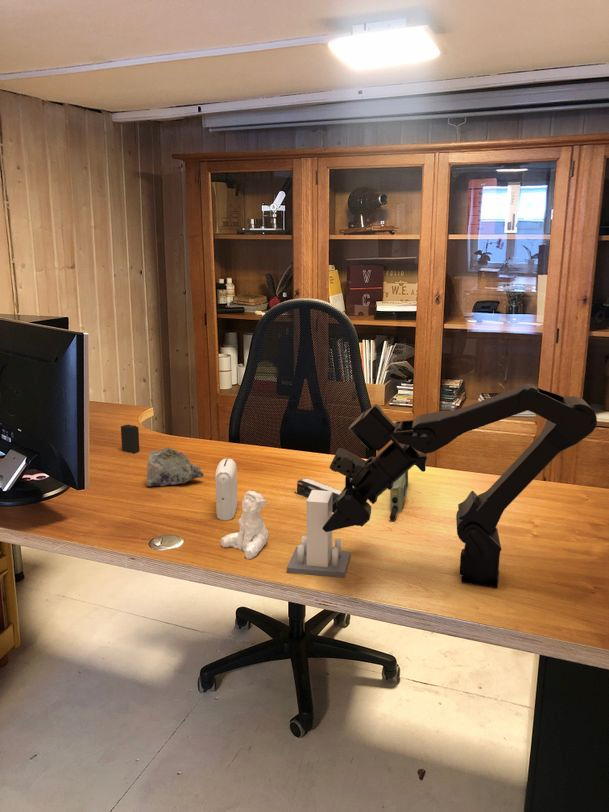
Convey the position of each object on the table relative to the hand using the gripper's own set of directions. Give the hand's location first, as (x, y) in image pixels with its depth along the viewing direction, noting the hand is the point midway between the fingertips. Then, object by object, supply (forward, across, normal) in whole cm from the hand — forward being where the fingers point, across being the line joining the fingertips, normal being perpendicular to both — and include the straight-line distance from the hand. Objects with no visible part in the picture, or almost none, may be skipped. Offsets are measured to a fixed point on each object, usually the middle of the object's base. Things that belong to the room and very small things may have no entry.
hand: (327, 520), depth 127 cm
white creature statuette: (+19, -5, -6) cm, 20 cm away
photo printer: (+26, -22, -12) cm, 36 cm away
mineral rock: (+39, -37, -26) cm, 60 cm away
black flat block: (+12, -35, +2) cm, 37 cm away
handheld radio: (-1, -35, +15) cm, 38 cm away
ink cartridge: (+55, -61, -42) cm, 92 cm away
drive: (+7, 0, +5) cm, 8 cm away
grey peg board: (+8, 0, +5) cm, 9 cm away
